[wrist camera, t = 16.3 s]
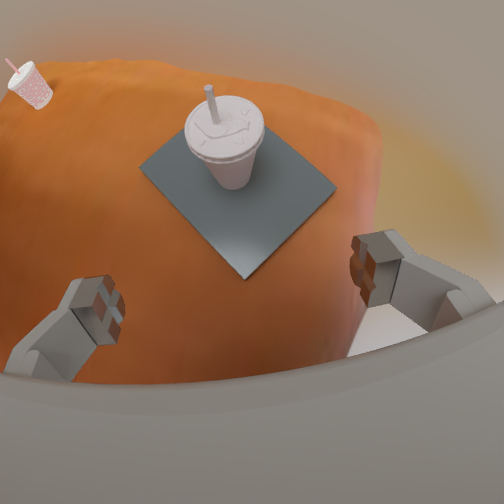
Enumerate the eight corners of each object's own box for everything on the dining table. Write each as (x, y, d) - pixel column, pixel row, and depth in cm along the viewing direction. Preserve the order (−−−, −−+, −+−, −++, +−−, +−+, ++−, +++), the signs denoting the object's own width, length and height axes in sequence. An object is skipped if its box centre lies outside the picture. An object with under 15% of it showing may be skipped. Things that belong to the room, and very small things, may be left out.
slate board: (143, 172, 32) (138, 167, 30) (226, 103, 33) (225, 96, 32) (245, 280, 29) (244, 279, 28) (334, 192, 31) (337, 187, 29)
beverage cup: (28, 109, 35) (-11, 72, 22) (47, 85, 36) (13, 45, 22) (40, 115, 35) (-2, 74, 21) (61, 89, 36) (24, 44, 22)
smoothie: (210, 147, 30) (183, 59, 17) (266, 152, 30) (270, 60, 16) (199, 198, 29) (157, 124, 16) (259, 205, 29) (260, 129, 15)
